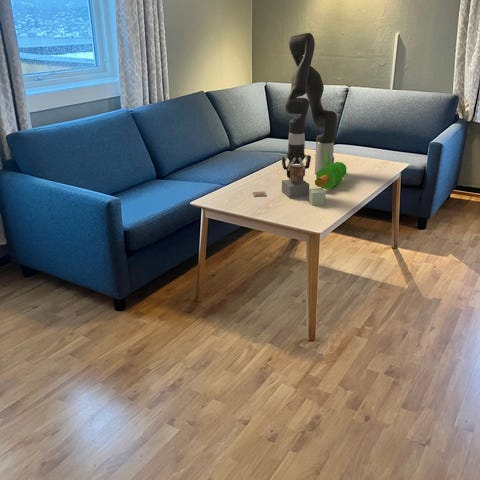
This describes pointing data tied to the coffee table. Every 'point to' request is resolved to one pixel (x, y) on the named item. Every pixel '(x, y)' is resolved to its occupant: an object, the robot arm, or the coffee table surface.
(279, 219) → the coffee table surface
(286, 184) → the base block
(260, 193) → the card
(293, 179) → the walnut cube
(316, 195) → the sage cube
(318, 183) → the decorative tree
